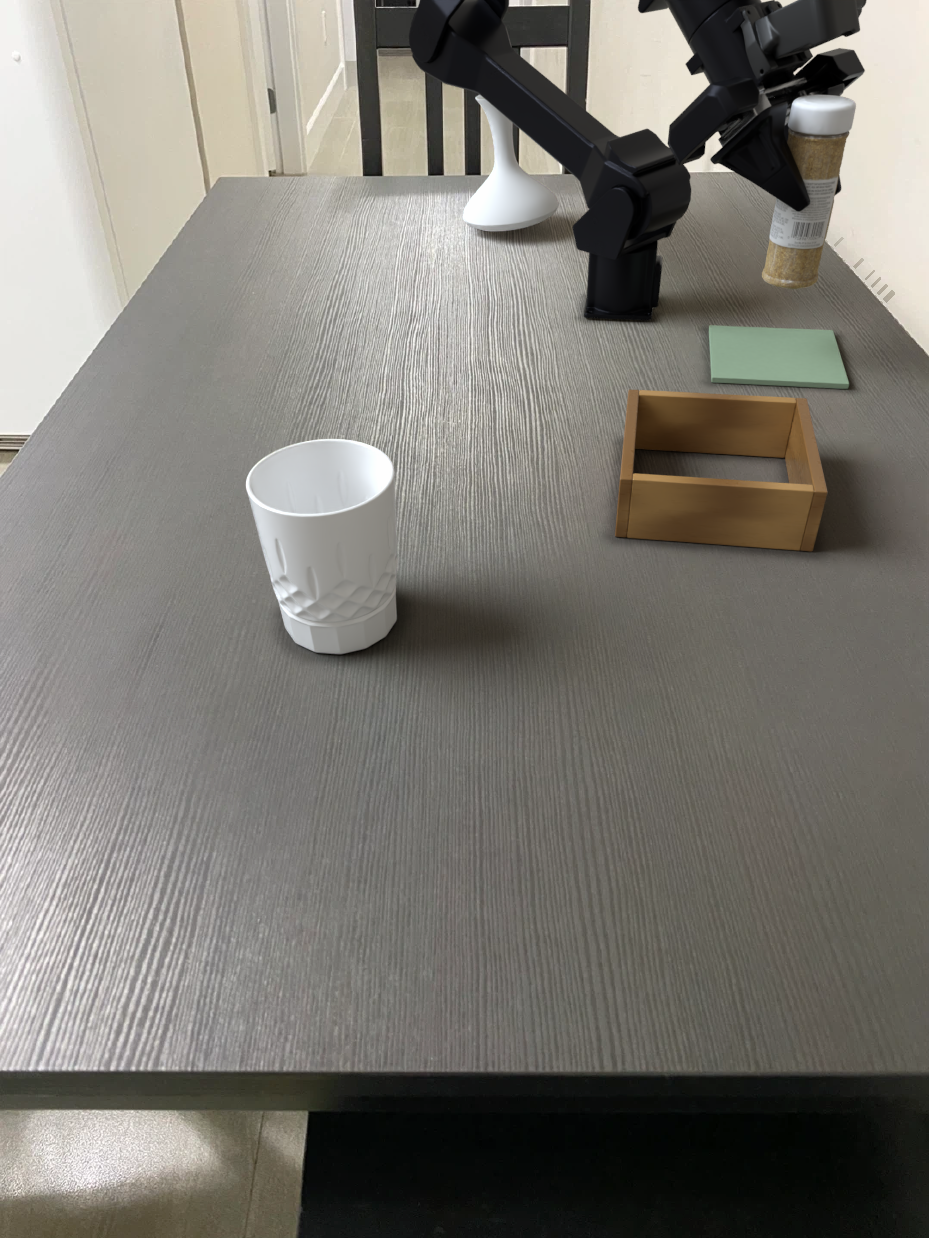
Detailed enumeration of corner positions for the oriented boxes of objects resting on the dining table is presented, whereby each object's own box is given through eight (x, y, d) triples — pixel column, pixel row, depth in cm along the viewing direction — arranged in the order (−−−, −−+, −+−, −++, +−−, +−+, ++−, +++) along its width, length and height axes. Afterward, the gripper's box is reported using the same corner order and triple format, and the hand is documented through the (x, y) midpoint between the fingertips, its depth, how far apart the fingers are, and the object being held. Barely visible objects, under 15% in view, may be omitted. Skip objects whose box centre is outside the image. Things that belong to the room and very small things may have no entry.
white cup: (280, 583, 59) (252, 443, 53) (405, 574, 59) (392, 433, 53) (271, 668, 53) (238, 521, 47) (409, 657, 53) (396, 509, 47)
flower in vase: (499, 208, 117) (471, -32, 102) (578, 211, 111) (561, -44, 96) (437, 242, 109) (396, -12, 94) (518, 248, 103) (489, -23, 88)
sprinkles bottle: (816, 273, 79) (856, 94, 70) (816, 293, 76) (858, 107, 67) (760, 269, 80) (793, 91, 71) (758, 288, 77) (792, 105, 68)
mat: (711, 382, 79) (712, 377, 78) (708, 330, 87) (709, 325, 87) (848, 389, 77) (849, 383, 77) (831, 335, 85) (833, 330, 85)
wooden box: (614, 537, 62) (619, 478, 59) (623, 443, 71) (628, 389, 69) (812, 552, 60) (828, 492, 57) (794, 453, 69) (807, 398, 67)
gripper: (727, -57, 60) (843, 160, 61) (872, -78, 70) (970, 109, 71) (620, 68, 70) (722, 254, 71) (760, 34, 79) (849, 198, 80)
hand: (820, 201), depth 73 cm, fingers closed on sprinkles bottle, 4 cm apart
